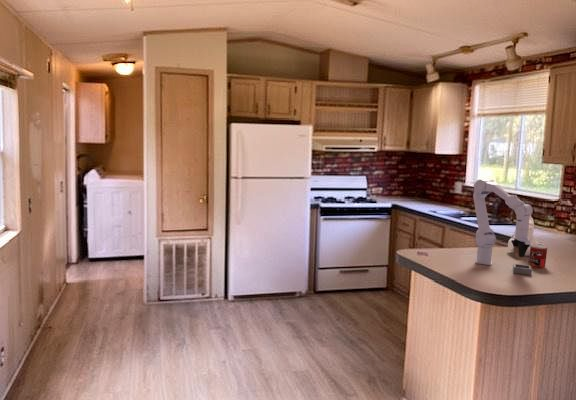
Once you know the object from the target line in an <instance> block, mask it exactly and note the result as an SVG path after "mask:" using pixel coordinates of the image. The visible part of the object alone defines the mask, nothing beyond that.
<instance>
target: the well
mask: <svg viewBox="0 0 576 400" xmlns="http://www.w3.org/2000/svg"><path fill="white" fill-rule="evenodd" d="M532 271H533V270H532V267H531V266H529V264H521V263H520V264H519V263H512V274H514V275H524V276H529V277H531V276H532Z"/></svg>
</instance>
